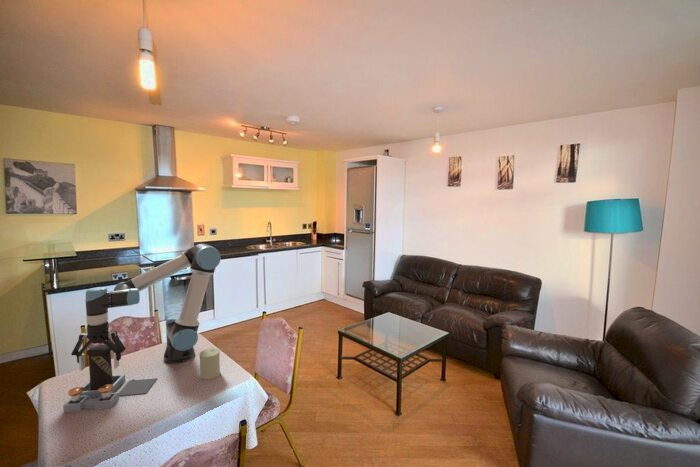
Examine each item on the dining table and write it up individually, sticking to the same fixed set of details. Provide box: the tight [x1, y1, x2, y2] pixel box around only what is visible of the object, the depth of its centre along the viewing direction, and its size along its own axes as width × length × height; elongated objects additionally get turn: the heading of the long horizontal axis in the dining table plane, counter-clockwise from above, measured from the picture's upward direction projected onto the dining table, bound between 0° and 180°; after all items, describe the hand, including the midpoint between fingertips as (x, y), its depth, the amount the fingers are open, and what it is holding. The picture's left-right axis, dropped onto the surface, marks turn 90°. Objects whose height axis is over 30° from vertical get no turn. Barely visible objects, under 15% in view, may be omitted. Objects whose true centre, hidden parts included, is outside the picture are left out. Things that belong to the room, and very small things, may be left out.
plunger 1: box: [67, 386, 84, 403], centre depth 129 cm, size 5×5×6 cm
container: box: [86, 344, 114, 391], centre depth 141 cm, size 9×9×20 cm
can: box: [199, 347, 221, 381], centre depth 155 cm, size 9×9×12 cm
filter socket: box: [81, 373, 126, 399], centre depth 142 cm, size 13×13×3 cm
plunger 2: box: [99, 384, 113, 401], centre depth 132 cm, size 5×5×6 cm
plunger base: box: [62, 391, 120, 413], centre depth 131 cm, size 17×6×3 cm, turn 101°
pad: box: [118, 377, 158, 397], centre depth 144 cm, size 12×12×1 cm
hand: (99, 368), depth 141 cm, fingers open, 13 cm apart
